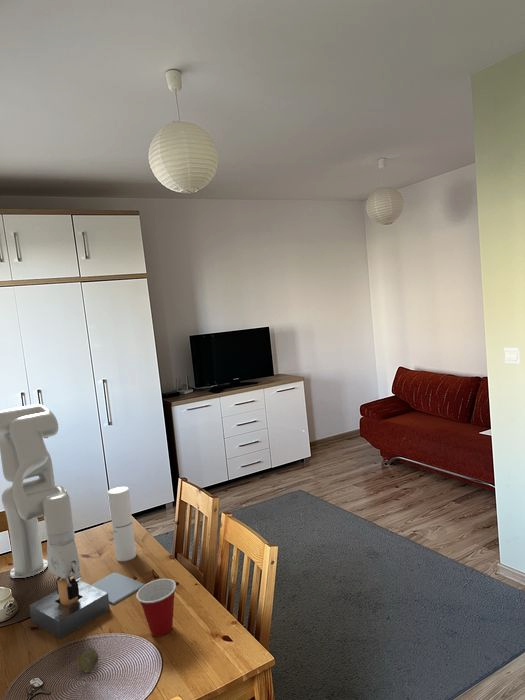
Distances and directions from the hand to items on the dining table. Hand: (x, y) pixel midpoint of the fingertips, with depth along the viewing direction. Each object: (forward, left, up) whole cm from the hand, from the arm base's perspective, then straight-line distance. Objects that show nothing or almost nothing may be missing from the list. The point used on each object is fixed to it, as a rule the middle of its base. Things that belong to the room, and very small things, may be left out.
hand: (68, 594), depth 152 cm
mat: (-1, +16, -7) cm, 17 cm away
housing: (0, 0, -7) cm, 7 cm away
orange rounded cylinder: (0, 0, -7) cm, 7 cm away
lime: (+26, -11, -7) cm, 29 cm away
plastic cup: (+30, +9, -7) cm, 32 cm away
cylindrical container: (-16, +32, -7) cm, 36 cm away
